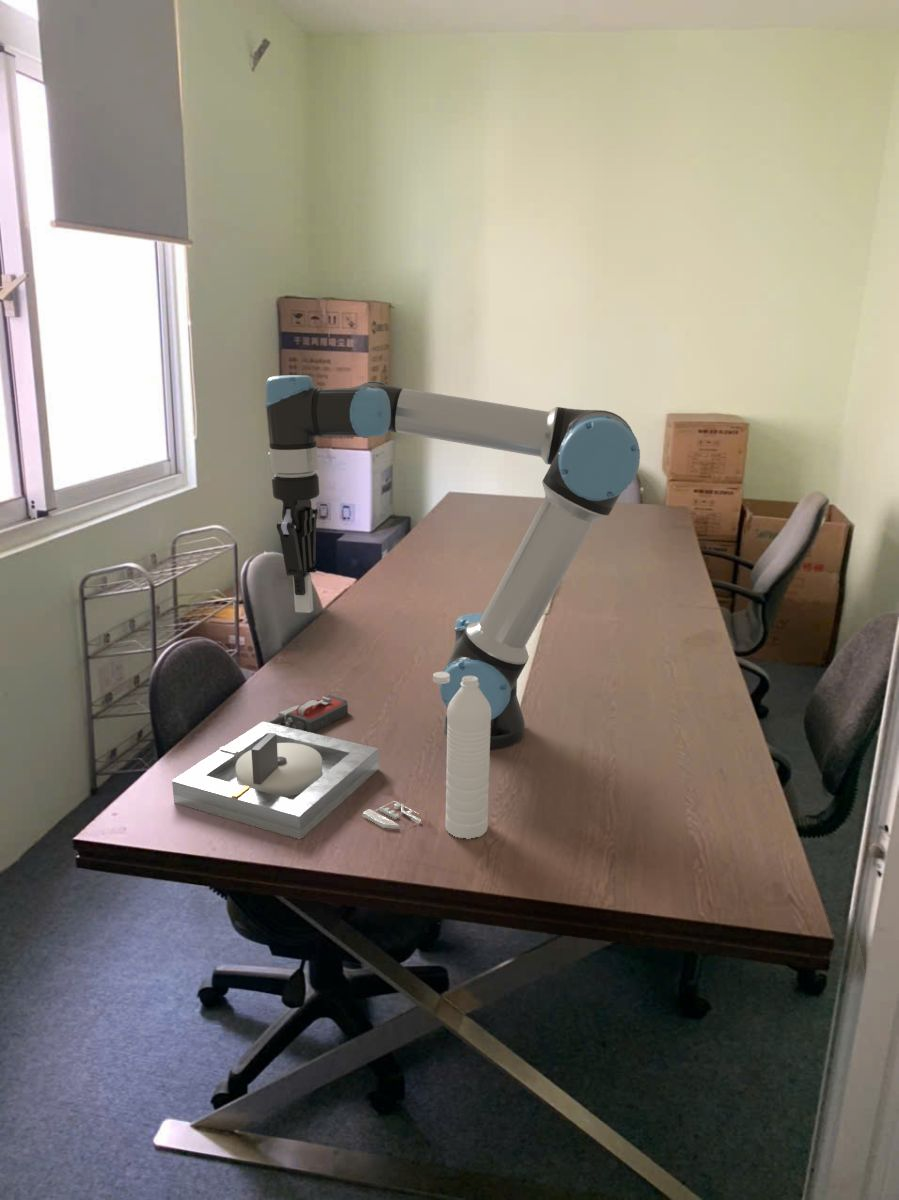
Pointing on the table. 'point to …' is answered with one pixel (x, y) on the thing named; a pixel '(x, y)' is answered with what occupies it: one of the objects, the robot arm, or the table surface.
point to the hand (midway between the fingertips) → (304, 610)
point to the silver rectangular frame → (291, 815)
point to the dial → (279, 767)
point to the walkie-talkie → (313, 714)
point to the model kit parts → (385, 821)
